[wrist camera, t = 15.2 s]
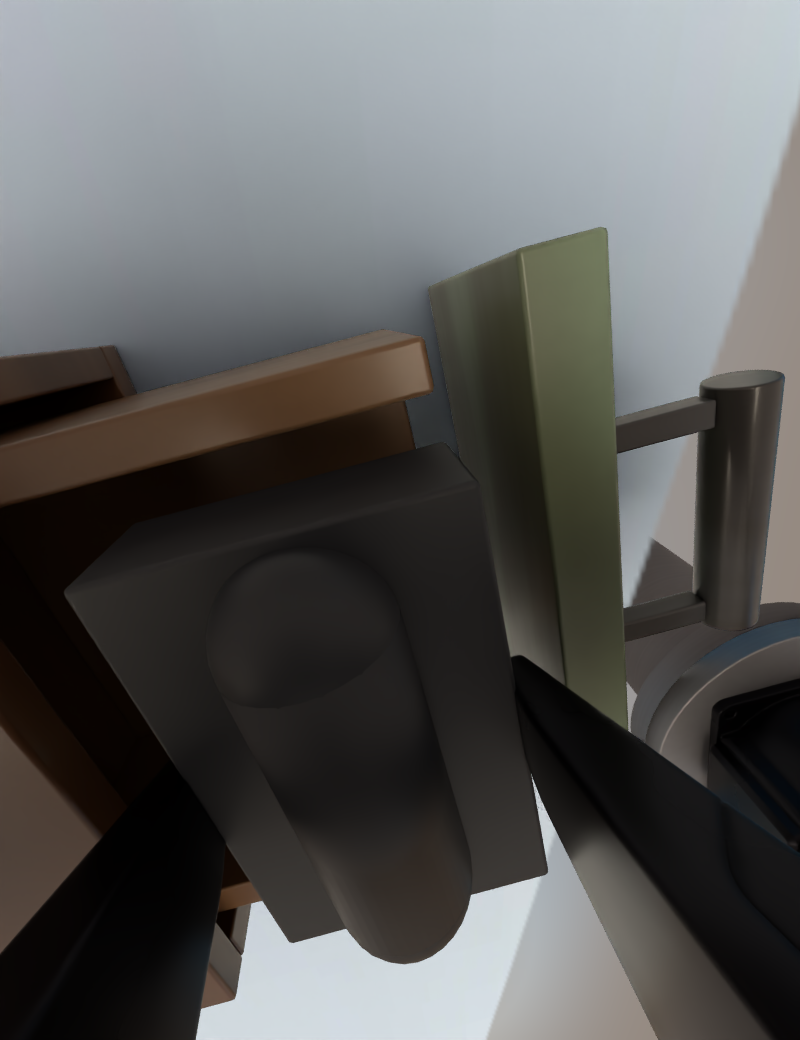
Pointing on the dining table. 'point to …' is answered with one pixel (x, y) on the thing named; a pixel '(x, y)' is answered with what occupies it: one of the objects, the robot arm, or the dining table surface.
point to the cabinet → (37, 726)
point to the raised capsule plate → (334, 692)
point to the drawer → (387, 431)
